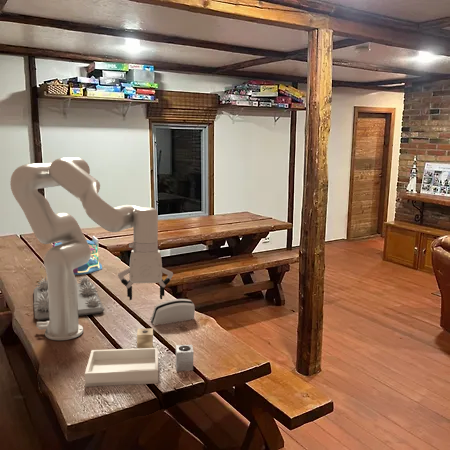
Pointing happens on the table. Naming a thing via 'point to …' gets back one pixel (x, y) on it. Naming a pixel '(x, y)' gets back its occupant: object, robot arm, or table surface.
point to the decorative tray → (86, 299)
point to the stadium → (92, 263)
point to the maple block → (145, 338)
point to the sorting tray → (122, 367)
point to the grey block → (184, 357)
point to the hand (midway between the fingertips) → (146, 298)
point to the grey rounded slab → (173, 311)
